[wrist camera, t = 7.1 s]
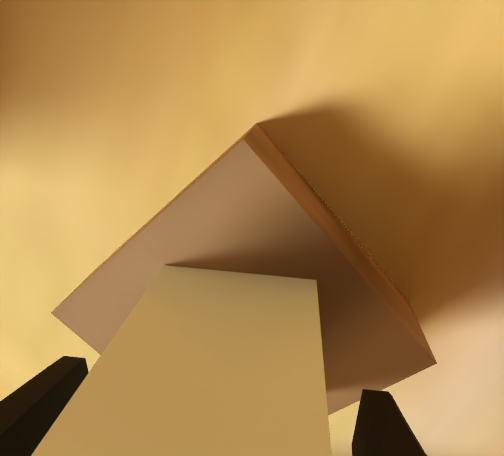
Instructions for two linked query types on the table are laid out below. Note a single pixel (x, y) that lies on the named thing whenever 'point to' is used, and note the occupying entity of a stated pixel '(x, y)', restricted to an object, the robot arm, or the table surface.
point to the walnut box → (264, 267)
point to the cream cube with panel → (205, 373)
